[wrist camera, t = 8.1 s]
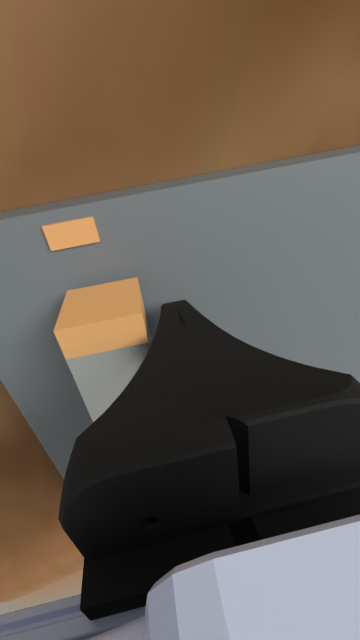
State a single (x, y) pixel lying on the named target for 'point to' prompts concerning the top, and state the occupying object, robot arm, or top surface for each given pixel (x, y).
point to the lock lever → (103, 339)
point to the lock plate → (187, 271)
